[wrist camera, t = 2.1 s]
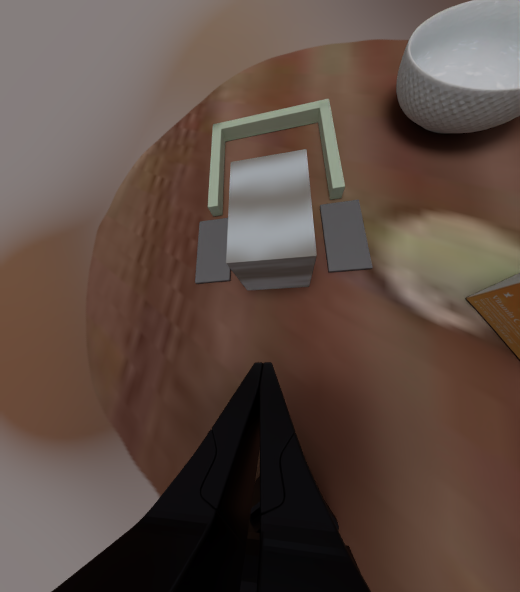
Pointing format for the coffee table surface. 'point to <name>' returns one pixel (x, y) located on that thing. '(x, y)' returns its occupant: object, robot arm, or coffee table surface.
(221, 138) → the green u-shaped guide frame
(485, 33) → the cereal bowl
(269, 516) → the robot arm
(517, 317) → the small box
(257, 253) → the block
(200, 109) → the coffee table surface
